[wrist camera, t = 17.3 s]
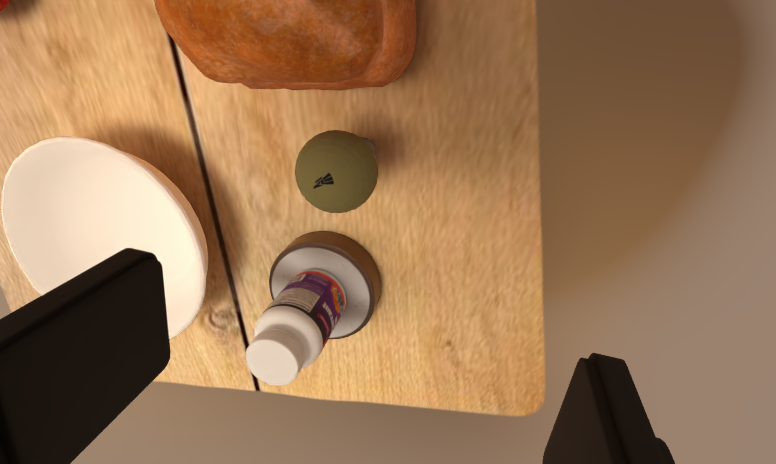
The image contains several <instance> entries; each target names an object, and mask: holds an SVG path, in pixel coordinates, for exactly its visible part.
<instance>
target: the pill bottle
mask: <svg viewBox="0 0 776 464" xmlns="http://www.w3.org/2000/svg"><path fill="white" fill-rule="evenodd" d="M345 305H346V294H345V291H344V288H343V286H342V285H341V283H340V282H339V281H338V280H337V279H336V278H335V277H334V276H333V275H331V274H330V273H328V272H326V271H323V270H319V269H307V270H304V271H301V272H299V273H298V274H297V275H295V276H294V277H293V278H292V279H291V280H290V282H289V283H288V284H287V285H286V286H285V288H284V289H283V290H282V291H281V292H280V293H279V295H278V296H277V297H276V298H275V299H274V301H273V302H272V303H271V304H270V305H269V307H268V308H267V309H266V310H265V311H264V312H263V314H262V315H261V316H260V318H259V319H258V321H257V323H256V325H255V330H254V339H253V341H252V342H251V344H250V345H249V347H248V348H247V351H246V363H247V366H248V368H249V369H250V371H251V372H252V373H253V375H254V376H256V377H257V378H258V379H259V380H261V381H263V382H265V383H267V384H270V385H275V386H282V385H286V384H289V383H290V382H292V381H293V380H294V379H295V378H296V376H297V375H298V373H299V371H300V370H301V369H302V368H305V367H307V366H309V365H311V364H312V363H313V362H314V361H315V360H316V359H317V358H318V356H319V355H320V353H321V351H322V349H323V348H324V346H325V344H326V342H327V340H328V339H329V337H330V335H331V333H332V331H333V330H334V328H335V326H336V324H337V322H338V321H339V319H340V317H341V315H342V313H343V311H344V309H345Z"/></svg>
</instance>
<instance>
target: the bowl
mask: <svg viewBox="0 0 776 464" xmlns="http://www.w3.org/2000/svg"><path fill="white" fill-rule="evenodd" d="M1 213H2V219H3V225H4V230H5V233H6V236H7V239H8V242H9V245H10V248H11V250H12V252H13V254H14V256H15V258H16V260H17V262H18V264H19V266H20V268H21V270H22V271H23V272H24V274H25V275H26V277H27V278H28V280H29V281H30V283H31V284H32V286H33V287H34V288H35V289H36V290H37V291H38V292H39V294H40V295H41V296H42V295H44V294H46V293H47V292H49V291H51V290H53V289H54V288H56V287H58V286H60V285H61V284H63V283H65V282H67V281H68V280H70V279H72V278H74V277H75V276H77V275H79V274H81V273H82V272H84V271H86V270H88V269H90V268H91V267H93V266H95V265H97V264H98V263H100V262H102V261H104V260H105V259H107V258H109V257H111V256H112V255H114V254H116V253H118V252H119V251H121V250H123V249H125V248H133V249H138V250H142V251H146V252H151V253H153V254H155V256H156V257H157V260H158V261H159V262H160V263H161V264H162V268H163V279H164V290H165V300H166V311H167V322H168V333H169V340H170V339H171V338H173V337H175V336H177V335H179V334H181V333H182V332H183V331H184V330H185V329H186V328H187V327H188V326H189V325H190V324H192V323H193V321H194V319H195V317H196V316H197V314H198V312H199V311H200V309H201V306H202V302H203V299H204V295H205V289H206V275H207V271H208V251H207V244H206V238H205V235H204V232H203V230H202V227H201V224H200V221H199V219H198V217H197V215H196V214H195V212H194V210H193V208H192V206H191V204H190V203H189V202H188V200H187V199H186V198H185V196H184V195H183V194H182V192H181V191H180V190H179V188H178V187H177V186H176V185H175V184H174V183H173V182H172V181H171V180H170V179H169V178H167V177H166V176H165V175H164V174H163V173H162V172H161V171H159V170H158V169H156V168H155V167H154V166H152V165H151V164H149V163H148V162H146V161H144V160H142V159H140V158H138V157H136V156H134V155H132V154H130V153H126V152H123V151H120V150H118V149H116V148H114V147H112V146H110V145H108V144H105V143H102V142H98V141H95V140H91V139H88V138H84V137H70V136H60V137H55V138H49V139H44V140H42V141H40V142H38V143H36V144H34V145H32V146H30V147H28V148H27V149H26V150H25V151H24V152H23V153H21V154H20V155H19V156H18V157H17V158H16V159H15V160H14V162H13V163H12V165H11V167H10V169H9V171H8V172H7V174H6V177H5V181H4V185H3V189H2V195H1Z"/></svg>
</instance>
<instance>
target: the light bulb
mask: <svg viewBox="0 0 776 464" xmlns="http://www.w3.org/2000/svg"><path fill="white" fill-rule="evenodd" d="M375 157H376V149H375V146H374V144H373V143H372V142H371V141H370V140H369V139H367V138H364V137H358V136H356V135H355V134H353V133H350V132H346V131H339V130H333V131H327V132H323V133H321V134H318V135H316V136H315V137H313V138H312V139H310V140H309V141H308V142H307V143H306V144H305V146H304V147H303V148H302V150H301V151H300V153H299V156H298V158H297V162H296V169H295V175H296V181H297V184H298V187H299V189H300V191H301V193H302V194H303V196H304V197H305V198H306V200H307V201H309V202H310V203H311V204H312V205H313V206H315V207H316V208H318V209H321V210H323V211H326V212H330V213H343V212H348V211H351V210H353V209H356V208H357V207H359V206H361V205H362V204H363V203H364V202H365V201H366V200H367V199H368V198H369V197H370V195H371V194H372V192H373V190H374V188H375V186H376V183H377V177H378V165H377V161H376V158H375Z"/></svg>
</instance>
